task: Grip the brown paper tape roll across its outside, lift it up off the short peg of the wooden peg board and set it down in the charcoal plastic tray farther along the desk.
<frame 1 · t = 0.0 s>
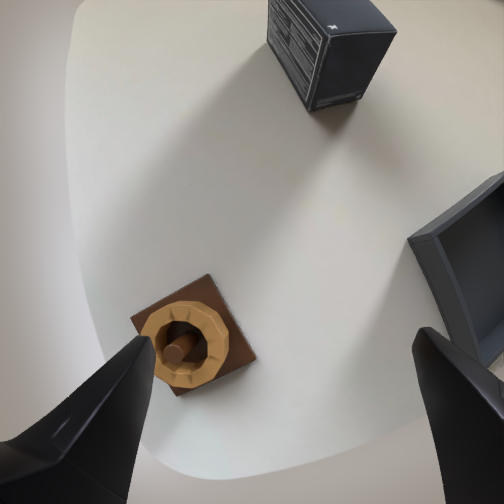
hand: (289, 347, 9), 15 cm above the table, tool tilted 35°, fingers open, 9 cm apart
tape: (190, 339, 24), point 1 cm above the table, touching wooden peg board
small box: (313, 67, 26), on the table
wooden peg board: (191, 337, 24), on the table
tray: (482, 266, 24), on the table
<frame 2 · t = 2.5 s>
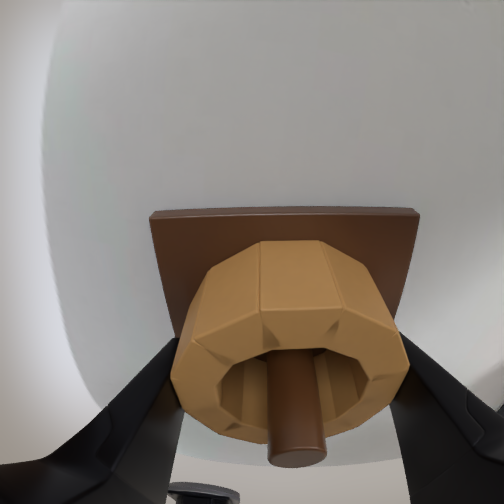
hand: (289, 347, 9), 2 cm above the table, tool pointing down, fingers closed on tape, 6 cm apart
tape: (286, 325, 10), point 1 cm above the table, touching gripper, wooden peg board
wooden peg board: (285, 313, 10), on the table
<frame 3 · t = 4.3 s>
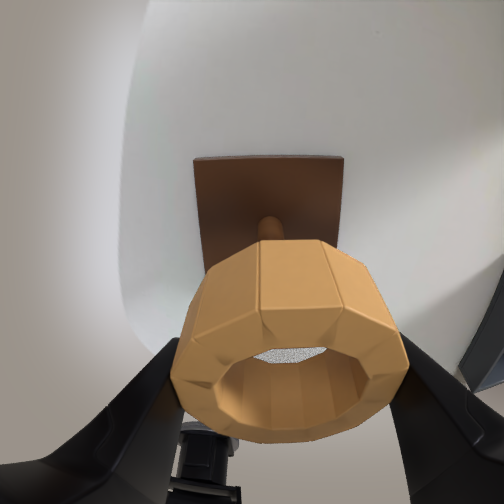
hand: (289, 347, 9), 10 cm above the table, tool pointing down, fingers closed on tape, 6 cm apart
tape: (286, 324, 10), point 9 cm above the table, touching gripper
wooden peg board: (269, 223, 17), on the table
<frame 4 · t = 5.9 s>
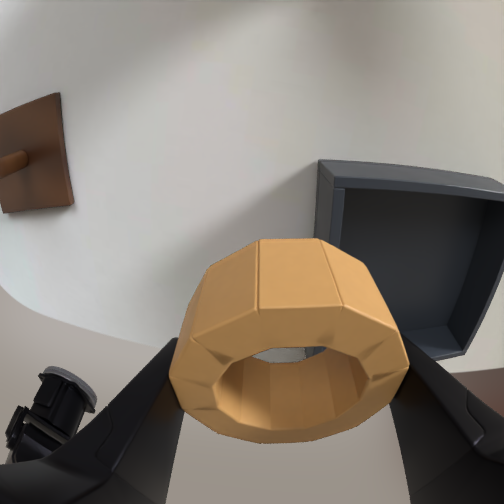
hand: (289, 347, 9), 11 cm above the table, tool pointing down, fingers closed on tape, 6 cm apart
tape: (285, 323, 10), point 10 cm above the table, touching gripper
wooden peg board: (27, 157, 16), on the table
tray: (403, 261, 20), on the table
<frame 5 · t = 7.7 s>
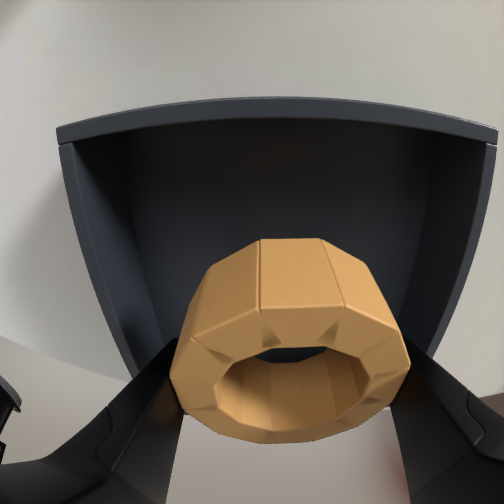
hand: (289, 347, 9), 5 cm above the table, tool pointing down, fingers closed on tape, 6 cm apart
tape: (286, 323, 10), point 4 cm above the table, touching gripper
tray: (282, 258, 14), on the table
when the fingers open (2 cm above the table, at t = 9.1 s): tape stays where it is, resting on tray.
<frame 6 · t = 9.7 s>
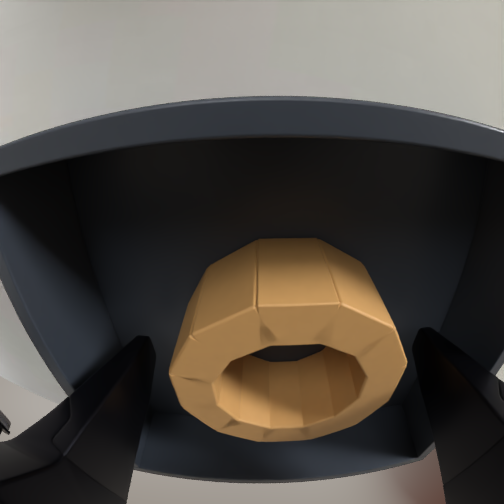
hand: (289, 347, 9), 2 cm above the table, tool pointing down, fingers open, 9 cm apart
tape: (284, 322, 10), point 1 cm above the table, touching tray
tray: (285, 313, 11), on the table
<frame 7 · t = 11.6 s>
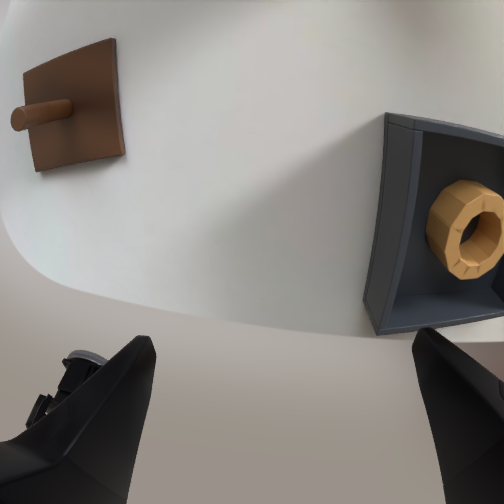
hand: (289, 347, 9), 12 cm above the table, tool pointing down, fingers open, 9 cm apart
tape: (460, 220, 18), point 1 cm above the table, touching tray
wooden peg board: (70, 107, 16), on the table
tray: (456, 218, 19), on the table
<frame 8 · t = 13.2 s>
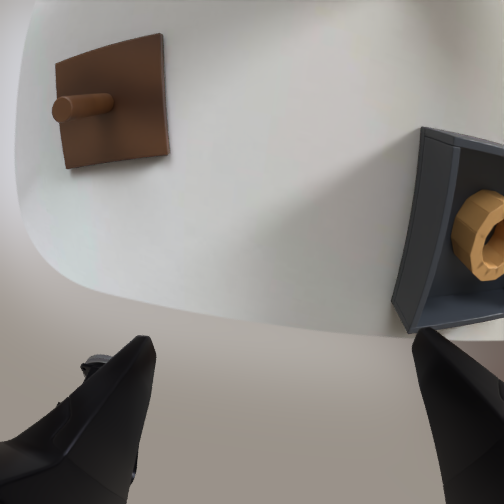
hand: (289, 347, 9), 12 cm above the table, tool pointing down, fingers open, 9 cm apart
tape: (480, 227, 19), point 1 cm above the table, touching tray
wooden peg board: (109, 102, 16), on the table
tray: (476, 225, 19), on the table
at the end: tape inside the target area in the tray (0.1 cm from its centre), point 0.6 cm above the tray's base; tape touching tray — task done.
